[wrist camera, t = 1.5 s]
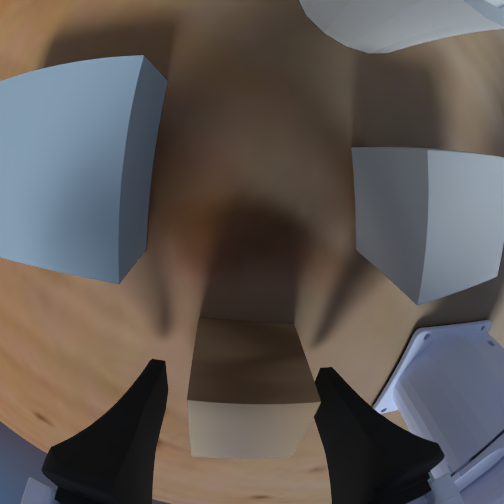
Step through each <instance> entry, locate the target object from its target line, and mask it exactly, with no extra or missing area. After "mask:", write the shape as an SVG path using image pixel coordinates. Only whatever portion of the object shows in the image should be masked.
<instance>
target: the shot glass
mask: <svg viewBox="0 0 504 504" xmlns="http://www.w3.org/2000/svg"><path fill="white" fill-rule="evenodd" d="M299 2H300V4H301V6H302V8H303V10H304V12H305V14H306V16H307V17H308V18H309V19H310V20H311V21H312V22H313V23H314V24H315V25H316V26H317V27H318V28H319V29H320V30H321V31H322V32H323V33H325V34H326V35H328V36H330V37H332V38H333V39H335V40H337V41H338V42H340V43H341V44H343V45H345V46H346V47H349V48H353V49H356V50H359V51H362V52H365V53H368V54H372V53H390V52H393V51H396V50H400V49H403V48H406V47H410V46H413V45H417V44H420V43H424V42H428V41H432V40H436V39H441V38H445V37H450V36H455V35H460V34H466V33H472V32H479V31H487V30H496V29H504V0H299Z"/></svg>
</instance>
